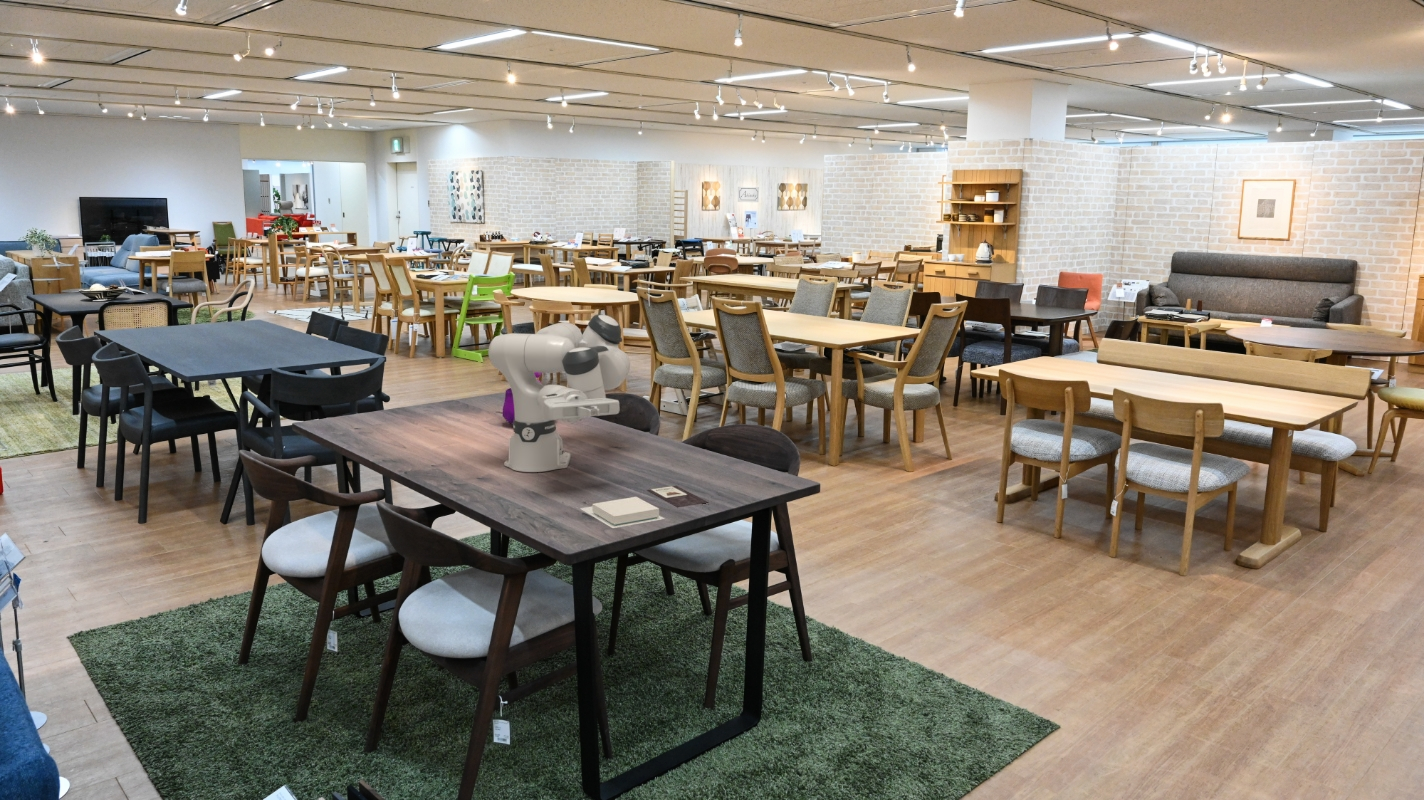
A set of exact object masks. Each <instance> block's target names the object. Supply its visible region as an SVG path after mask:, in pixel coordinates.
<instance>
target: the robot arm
mask: <svg viewBox="0 0 1424 800" xmlns="http://www.w3.org/2000/svg"><path fill="white" fill-rule="evenodd" d="M622 342H623V338H622V328H621V326H620V323H619V322H618V321H617V320H616V319H614V318H613V317H611V316H610V315H607V314H600V313H598V314H595V315H594V316H592V318H591V319H590V320H589V321H588V324H587V326H586V328H585V329H584V331H583V333H582V331H581V329H580V328H579V327H578V326H577V325H575V324H573V323H571V322H570V323H569V322H558V323H554V324H551V325H549V326H546V327H543V328H541V329H539V330H538V331H536V332H535V333H516V332H515V333H505V334H499V335H497V336H495V337H493V338H492V340H491V341H490V343H489V346H488V353H487V354H488V358H489V361H490V362H491V365H492V366H493V367H494V368H495V369H496V370H498V371H499V372H500V373H501V374H502V375H503V376H504V378H505V379H506V381H507V383H508V385H509V388H511V390H512V393H513V400H514V411H515V419H514V421H513V423H512V427H513V432H514V433H513V435H512V436H510V437H509V440H508V441H509V442H508V460H506V461H504V465H503V466H505V467H507V468H510V469H511V470H513V471H517V472H524V473H537V472H538V473H541V472H549V471H553V470H558V469H566V468H568V466H569V463H570V461H571V457H572V456H571V452H566V451H564V446H563V445H564V444H563V443H564V442H563V438H562V437H561V435H559V433H558V432H557V431H556V430H557V421H561V422H565V423H566V422H568V423H571V424H572V423H573V424H574V423H578V422H581V421H582V420H583V419H584V418H588V417H599V416H609V415H618V414H619V413H620V401H619V400H618V399H614V398H608V397H607V396H606V391H611V390H614V389H617V388H618V387H620V386H621V385H622V384H623V383H624V381H625V380H626V379H627V378H628V375H629V373H630V369H631V360H630V357H629V356H628V354H627V353H626V352H625V351H623V350H622V349H620V348H619V344H620V343H622ZM534 372H535V373H542V374H556V373H563V372H565V377H566V382H567V386H565V385H559V384H547V385H544V384H542V382H541V383H540V382H539V381H538V380H539V379H538V378H536V377H535V374H534ZM537 379H538V380H537Z"/></svg>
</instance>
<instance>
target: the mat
mask: <svg viewBox="0 0 1424 800" xmlns="http://www.w3.org/2000/svg"><path fill="white" fill-rule="evenodd" d="M579 510H581V511H583V512H585V513H586V514H587V515H589V516H591V517H593V518H595V519H596V520H598V521H599V522H601V523H603V524H605V525H606V526H608V527H609V528H612V529H616V528H623V527H628V526H634V525H638V524H639V525H640V524H644V523H649V522H650V523H651V522H656V521H661V520H665V519H666V518H665V517H663V516H661V515H659V517H657V518H654V519H649V520H643V521H637V522H632V523H626V524H621V525H613V524H612V523H610V522H608V521H607V520H605V519H603V518H602V517H600V516H598V515H597V514H595V513H594V512H593V511H592V506H585V507H579Z"/></svg>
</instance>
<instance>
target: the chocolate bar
mask: <svg viewBox="0 0 1424 800" xmlns="http://www.w3.org/2000/svg"><path fill="white" fill-rule="evenodd" d="M646 491H647V492H649V493H650V494H652V495H654V496H656V497H657V498H659V499H661V500H663V501H665V502H667V503H668V504H670V505H672V506H674V507H676V508H683V507H688V506H690V507H691V506H694V505H695V506H696V505H703V504H706V503H710V502H709V501H707V500H704V499H703V498H701V497H699V496H697V495H695V494H693V493H692V492H689V491H687V490H686V489H683V488H681V487H679V486H678V485H673V486H664V487H659V488H651V489H650V488H649V489H646Z"/></svg>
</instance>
